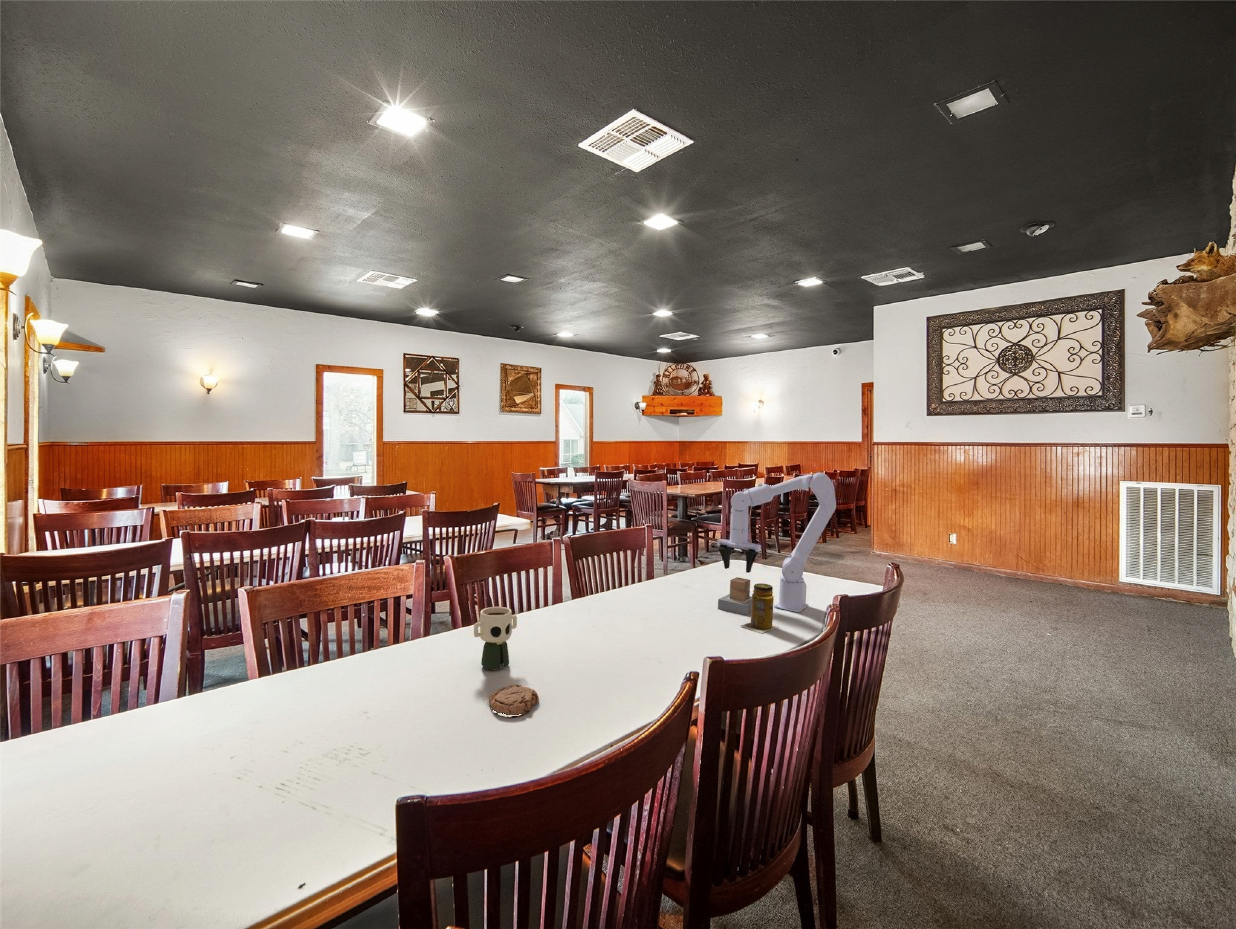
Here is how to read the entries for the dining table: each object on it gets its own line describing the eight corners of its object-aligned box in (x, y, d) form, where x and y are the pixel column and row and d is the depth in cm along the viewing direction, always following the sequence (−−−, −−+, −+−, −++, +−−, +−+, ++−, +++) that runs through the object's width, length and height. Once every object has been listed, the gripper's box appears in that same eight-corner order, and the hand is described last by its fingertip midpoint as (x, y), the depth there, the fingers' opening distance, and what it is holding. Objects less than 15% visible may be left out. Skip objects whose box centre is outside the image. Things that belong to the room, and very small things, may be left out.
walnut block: (736, 595, 188) (736, 577, 188) (749, 598, 185) (750, 579, 185) (729, 598, 184) (730, 579, 184) (743, 601, 182) (744, 582, 181)
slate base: (732, 601, 192) (732, 592, 192) (760, 607, 186) (761, 598, 186) (717, 608, 184) (718, 598, 184) (747, 615, 178) (747, 605, 178)
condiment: (778, 627, 168) (780, 585, 168) (762, 633, 162) (764, 591, 162) (756, 620, 173) (758, 580, 173) (739, 626, 168) (741, 585, 167)
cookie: (489, 721, 111) (489, 705, 110) (487, 696, 121) (488, 682, 121) (542, 716, 113) (542, 701, 113) (536, 692, 123) (536, 678, 123)
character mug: (481, 677, 129) (481, 619, 128) (466, 667, 134) (466, 611, 133) (523, 665, 136) (524, 610, 135) (508, 656, 141) (509, 603, 141)
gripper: (713, 527, 192) (711, 568, 193) (755, 533, 183) (753, 576, 184) (723, 525, 198) (721, 564, 198) (764, 530, 189) (762, 572, 190)
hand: (737, 570), depth 192 cm, fingers open, 7 cm apart
